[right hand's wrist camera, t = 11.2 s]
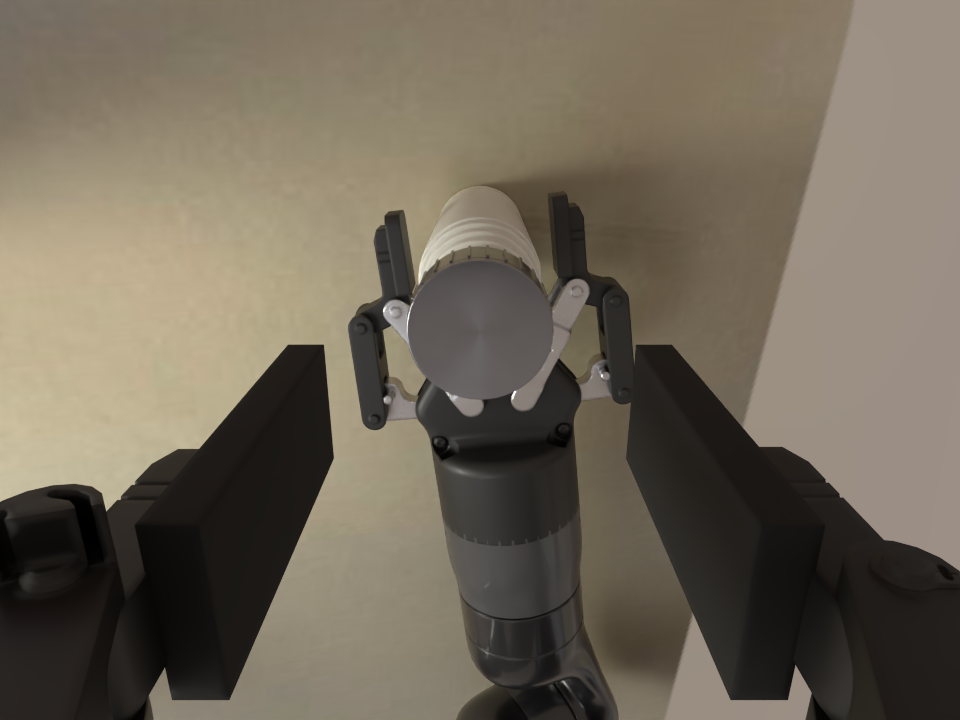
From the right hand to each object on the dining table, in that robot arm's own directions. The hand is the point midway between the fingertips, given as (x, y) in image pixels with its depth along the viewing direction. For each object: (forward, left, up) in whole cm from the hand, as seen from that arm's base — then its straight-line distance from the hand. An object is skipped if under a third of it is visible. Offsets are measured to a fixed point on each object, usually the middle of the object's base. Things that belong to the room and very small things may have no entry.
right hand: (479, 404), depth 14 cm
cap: (0, 0, -5) cm, 5 cm away
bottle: (0, 0, -24) cm, 24 cm away
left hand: (+2, +1, -18) cm, 18 cm away
